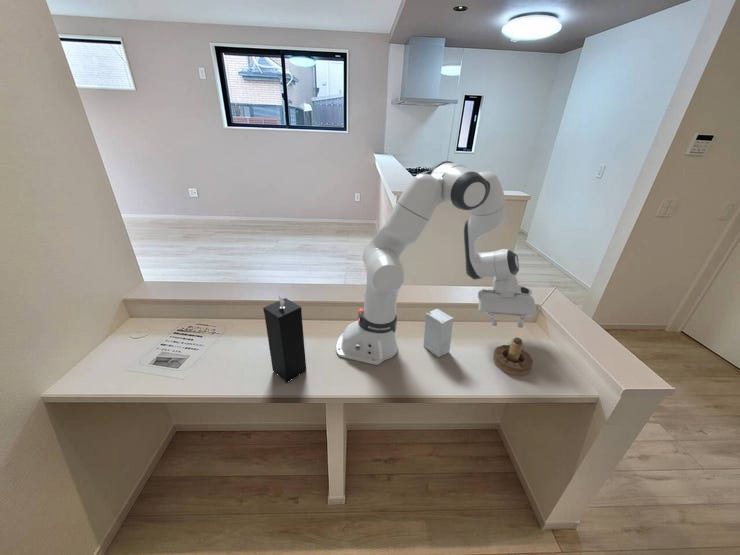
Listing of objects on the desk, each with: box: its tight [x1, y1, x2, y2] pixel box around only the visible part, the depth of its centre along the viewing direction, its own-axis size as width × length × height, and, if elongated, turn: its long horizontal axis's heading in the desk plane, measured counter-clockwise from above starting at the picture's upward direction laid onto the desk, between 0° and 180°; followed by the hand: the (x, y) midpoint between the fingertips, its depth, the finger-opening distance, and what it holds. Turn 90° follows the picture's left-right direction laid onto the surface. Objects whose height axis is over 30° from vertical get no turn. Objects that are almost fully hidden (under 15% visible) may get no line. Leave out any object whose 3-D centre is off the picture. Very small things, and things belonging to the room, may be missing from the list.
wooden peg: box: [506, 337, 524, 363], centre depth 107 cm, size 4×4×10 cm
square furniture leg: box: [262, 295, 307, 383], centre depth 96 cm, size 8×8×28 cm
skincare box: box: [423, 308, 454, 358], centre depth 111 cm, size 8×6×15 cm
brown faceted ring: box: [492, 344, 534, 376], centre depth 108 cm, size 12×12×3 cm
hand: (507, 326), depth 116 cm, fingers open, 8 cm apart
